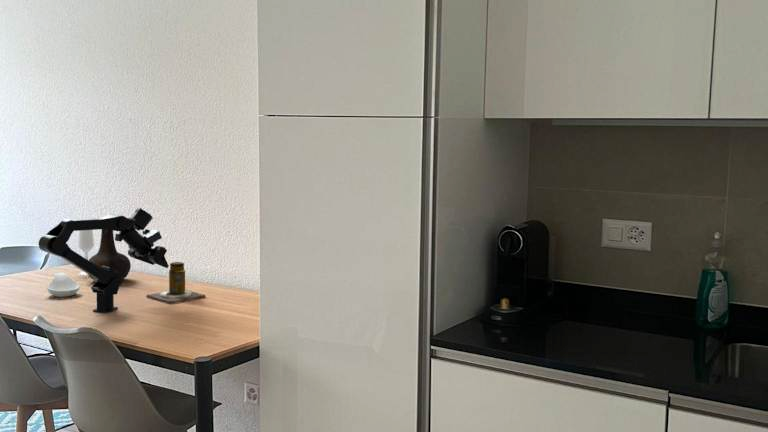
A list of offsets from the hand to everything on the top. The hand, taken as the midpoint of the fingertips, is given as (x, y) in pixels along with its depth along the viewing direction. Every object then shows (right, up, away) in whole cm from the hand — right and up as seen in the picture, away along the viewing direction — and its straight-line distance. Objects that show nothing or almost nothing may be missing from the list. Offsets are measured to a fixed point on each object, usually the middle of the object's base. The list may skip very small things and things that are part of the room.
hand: (161, 265), depth 288 cm
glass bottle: (-32, -9, +34) cm, 48 cm away
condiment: (+4, -12, +6) cm, 14 cm away
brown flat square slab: (+4, -13, +6) cm, 15 cm away
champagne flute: (-48, -7, +51) cm, 70 cm away
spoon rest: (-43, -12, +12) cm, 46 cm away
